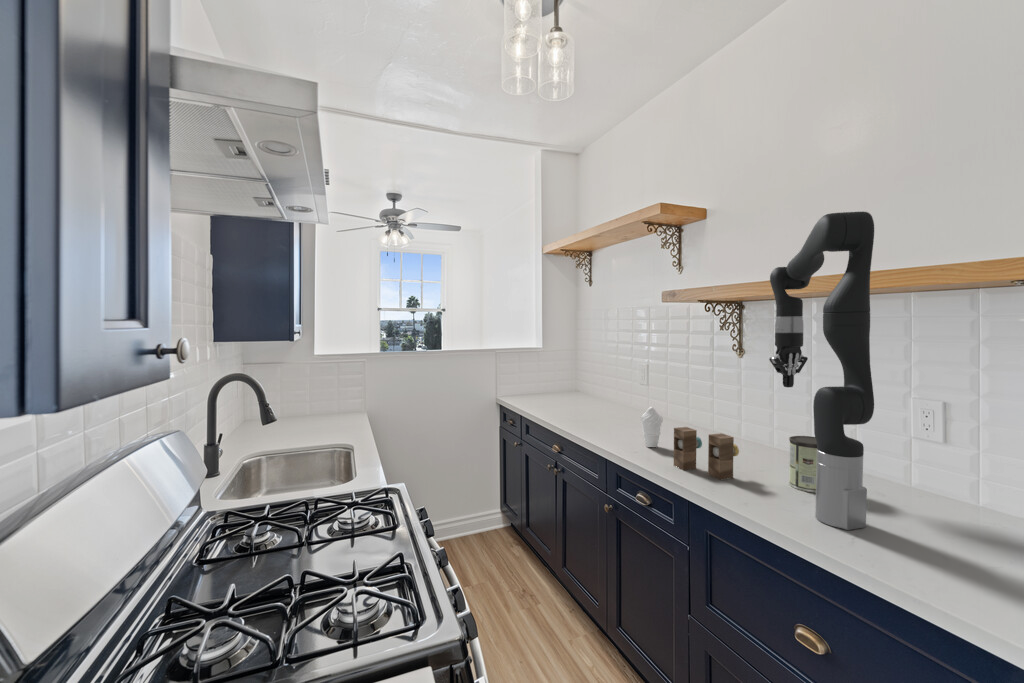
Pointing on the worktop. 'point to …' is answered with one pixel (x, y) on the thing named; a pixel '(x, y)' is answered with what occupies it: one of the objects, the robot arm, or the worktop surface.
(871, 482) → the worktop surface
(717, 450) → the ochre button
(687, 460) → the walnut box
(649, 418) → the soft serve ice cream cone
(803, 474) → the coffee can
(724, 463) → the walnut box
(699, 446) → the teal button
